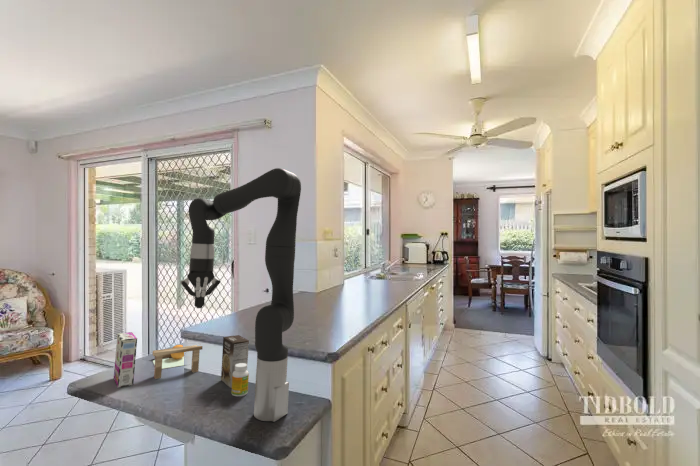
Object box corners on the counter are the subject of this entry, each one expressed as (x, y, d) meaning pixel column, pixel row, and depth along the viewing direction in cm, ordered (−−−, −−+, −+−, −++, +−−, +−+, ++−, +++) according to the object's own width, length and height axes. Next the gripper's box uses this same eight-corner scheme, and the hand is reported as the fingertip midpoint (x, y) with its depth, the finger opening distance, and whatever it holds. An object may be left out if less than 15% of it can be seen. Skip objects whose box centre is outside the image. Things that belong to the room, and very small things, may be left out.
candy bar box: (134, 385, 118) (137, 338, 118) (117, 388, 114) (121, 340, 115) (129, 375, 126) (132, 331, 127) (113, 378, 123) (116, 333, 124)
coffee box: (220, 380, 125) (222, 336, 126) (236, 376, 129) (239, 334, 130) (229, 388, 118) (232, 342, 119) (247, 384, 123) (249, 339, 123)
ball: (187, 351, 150) (188, 355, 145) (174, 359, 148) (174, 364, 143) (181, 340, 149) (182, 344, 144) (167, 347, 146) (167, 352, 141)
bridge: (201, 371, 133) (202, 346, 134) (151, 379, 123) (153, 352, 123) (199, 368, 136) (200, 344, 136) (150, 376, 125) (152, 350, 126)
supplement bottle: (242, 397, 112) (244, 368, 112) (228, 395, 113) (229, 366, 113) (250, 391, 117) (252, 363, 117) (236, 389, 118) (238, 361, 118)
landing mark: (189, 364, 139) (189, 364, 139) (156, 370, 132) (156, 369, 132) (183, 356, 149) (183, 356, 149) (152, 360, 142) (152, 360, 142)
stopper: (180, 356, 149) (181, 350, 149) (155, 359, 143) (155, 354, 143) (179, 354, 151) (180, 349, 151) (154, 358, 145) (154, 352, 145)
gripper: (219, 257, 122) (216, 304, 121) (179, 256, 114) (175, 307, 113) (225, 258, 116) (222, 308, 115) (183, 257, 108) (179, 311, 107)
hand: (199, 307), depth 114 cm, fingers closed
